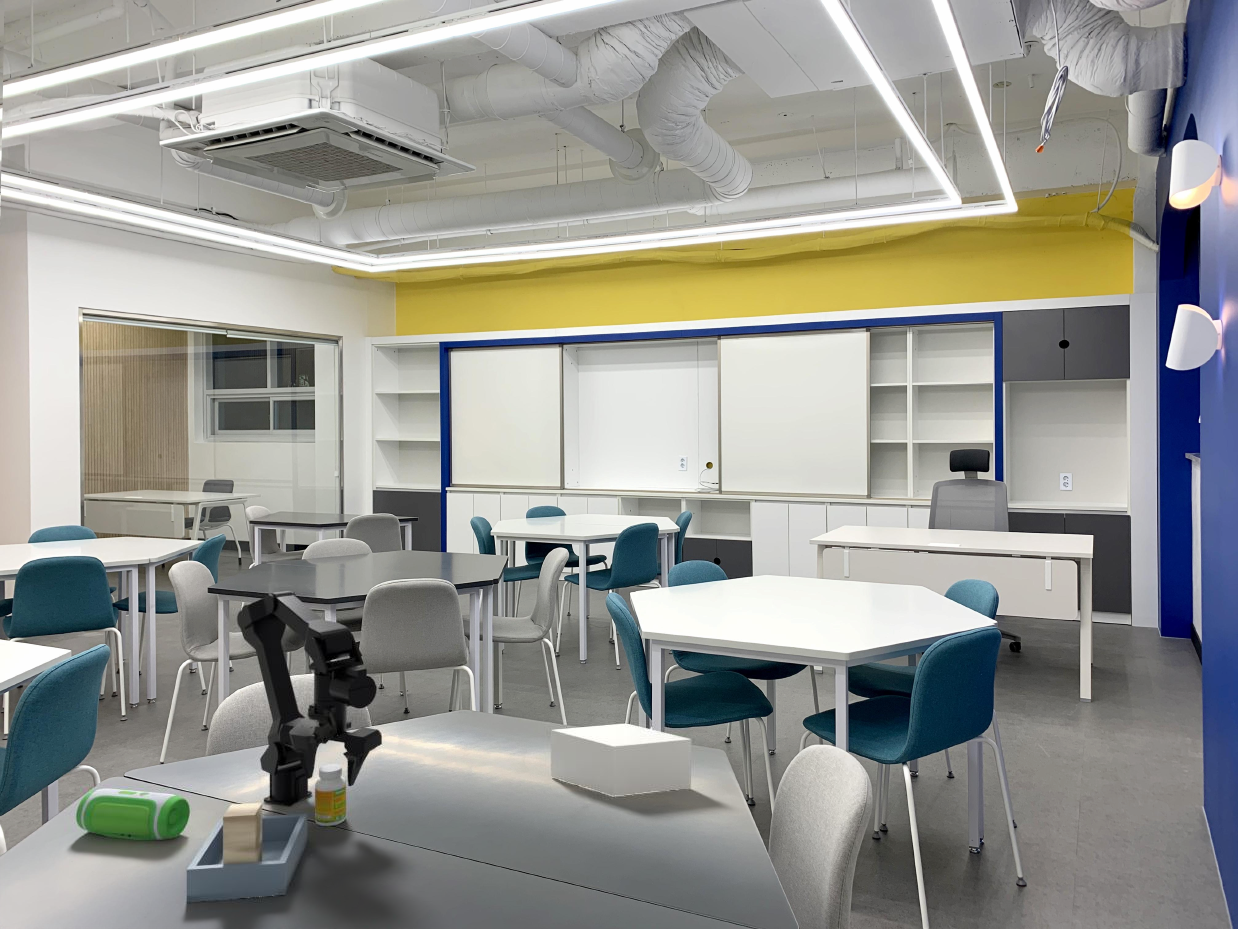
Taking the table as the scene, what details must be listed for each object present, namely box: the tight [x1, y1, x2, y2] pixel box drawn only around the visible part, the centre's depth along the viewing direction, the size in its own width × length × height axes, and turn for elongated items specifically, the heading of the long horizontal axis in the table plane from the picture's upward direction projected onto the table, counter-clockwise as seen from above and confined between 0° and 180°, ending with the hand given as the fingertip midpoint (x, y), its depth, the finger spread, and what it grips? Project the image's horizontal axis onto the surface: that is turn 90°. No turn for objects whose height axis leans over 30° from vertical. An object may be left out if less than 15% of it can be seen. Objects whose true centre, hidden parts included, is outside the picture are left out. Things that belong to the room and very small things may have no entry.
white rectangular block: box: [550, 723, 692, 796], centre depth 178 cm, size 14×29×10 cm, turn 80°
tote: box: [186, 813, 308, 904], centre depth 140 cm, size 18×14×5 cm
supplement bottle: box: [314, 763, 347, 827], centre depth 159 cm, size 5×5×10 cm
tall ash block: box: [222, 802, 263, 864], centre depth 135 cm, size 5×5×11 cm
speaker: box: [75, 788, 191, 841], centre depth 153 cm, size 18×7×8 cm, turn 80°
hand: (330, 781), depth 159 cm, fingers open, 9 cm apart
